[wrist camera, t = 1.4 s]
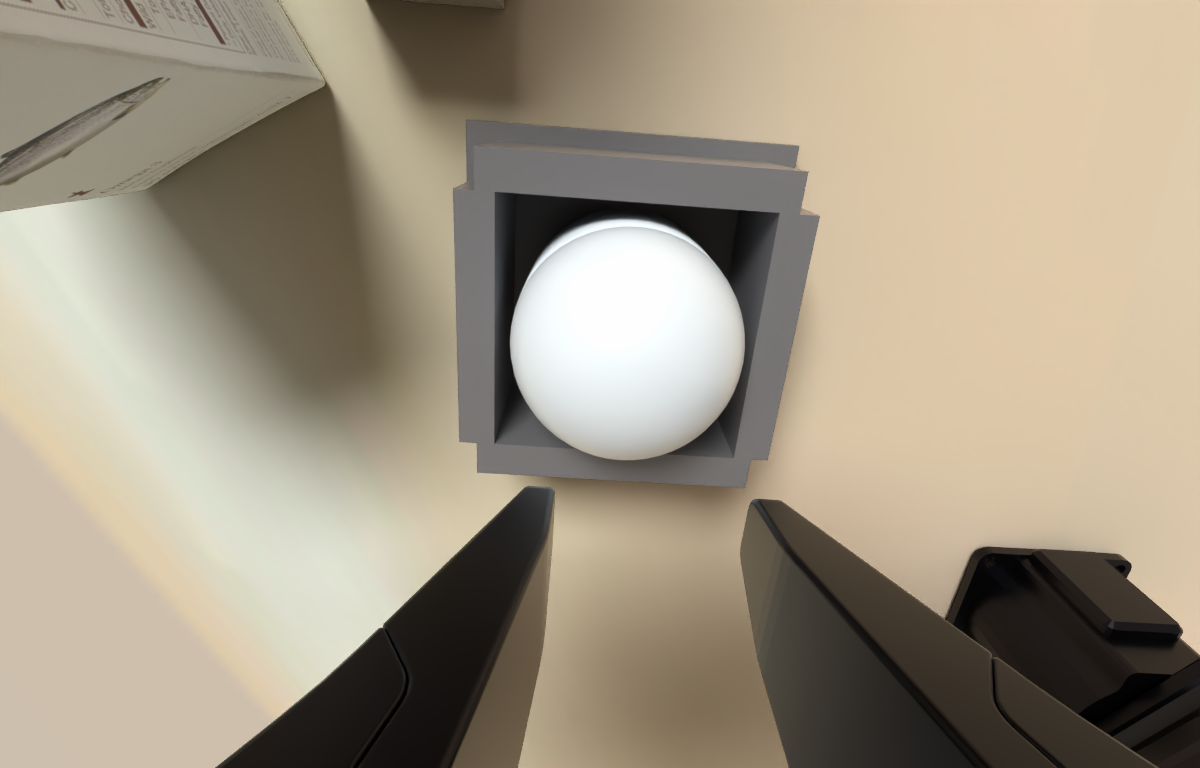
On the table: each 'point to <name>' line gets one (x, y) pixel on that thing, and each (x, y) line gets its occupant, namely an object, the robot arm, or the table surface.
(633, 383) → the white ball
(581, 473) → the base
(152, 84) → the supplement box
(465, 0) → the die
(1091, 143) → the table surface
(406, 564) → the table surface
